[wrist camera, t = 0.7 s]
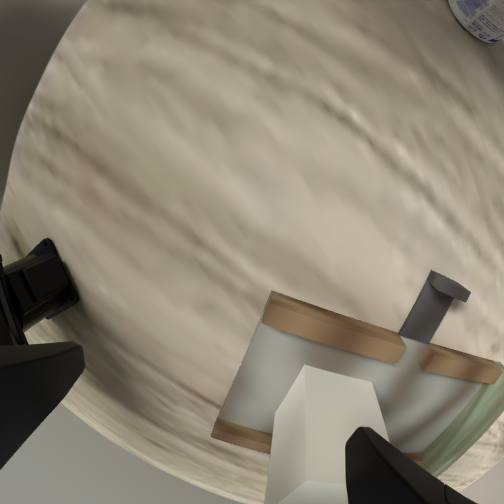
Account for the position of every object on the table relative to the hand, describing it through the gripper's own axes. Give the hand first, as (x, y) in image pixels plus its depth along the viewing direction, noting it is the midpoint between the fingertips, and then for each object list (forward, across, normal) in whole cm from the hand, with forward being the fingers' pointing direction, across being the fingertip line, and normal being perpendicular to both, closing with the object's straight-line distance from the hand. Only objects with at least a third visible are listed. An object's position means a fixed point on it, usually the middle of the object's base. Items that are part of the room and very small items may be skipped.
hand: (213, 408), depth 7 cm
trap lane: (+12, +14, -9) cm, 20 cm away
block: (+11, +8, -9) cm, 16 cm away
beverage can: (+12, +12, +26) cm, 31 cm away
